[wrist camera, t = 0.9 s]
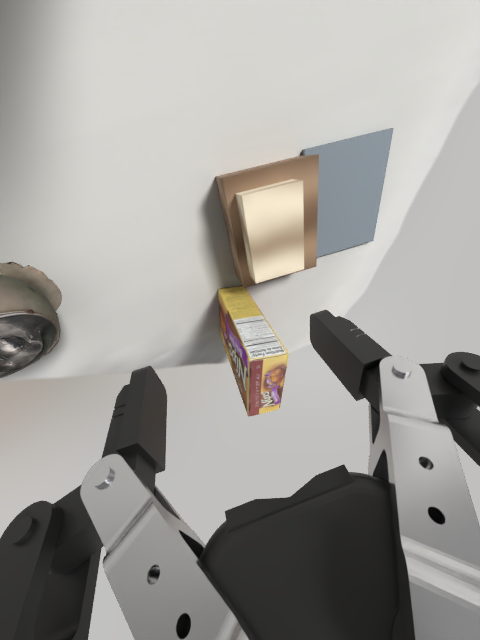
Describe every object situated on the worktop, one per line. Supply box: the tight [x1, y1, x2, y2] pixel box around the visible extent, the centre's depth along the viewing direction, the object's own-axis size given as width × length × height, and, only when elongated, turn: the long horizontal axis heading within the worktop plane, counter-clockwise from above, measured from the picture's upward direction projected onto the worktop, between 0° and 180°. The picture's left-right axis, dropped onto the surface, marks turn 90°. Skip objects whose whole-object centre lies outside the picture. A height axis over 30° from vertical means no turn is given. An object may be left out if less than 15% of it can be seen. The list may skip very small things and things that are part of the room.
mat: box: [302, 128, 393, 257], centre depth 29 cm, size 13×11×1 cm
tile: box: [235, 179, 304, 283], centre depth 24 cm, size 9×6×2 cm, turn 11°
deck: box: [216, 154, 319, 288], centre depth 27 cm, size 12×10×4 cm
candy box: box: [218, 286, 289, 416], centre depth 29 cm, size 9×4×15 cm, turn 0°
